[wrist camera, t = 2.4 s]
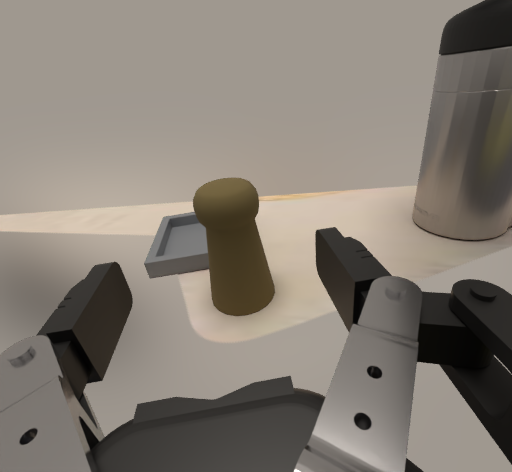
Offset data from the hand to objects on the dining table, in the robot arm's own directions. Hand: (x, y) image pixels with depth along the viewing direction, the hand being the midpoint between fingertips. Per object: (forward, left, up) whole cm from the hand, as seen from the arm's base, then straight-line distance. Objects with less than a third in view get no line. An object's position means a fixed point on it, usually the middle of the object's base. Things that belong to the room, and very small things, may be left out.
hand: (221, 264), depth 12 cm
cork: (0, -11, -11) cm, 16 cm away
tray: (+4, -22, -11) cm, 25 cm away
